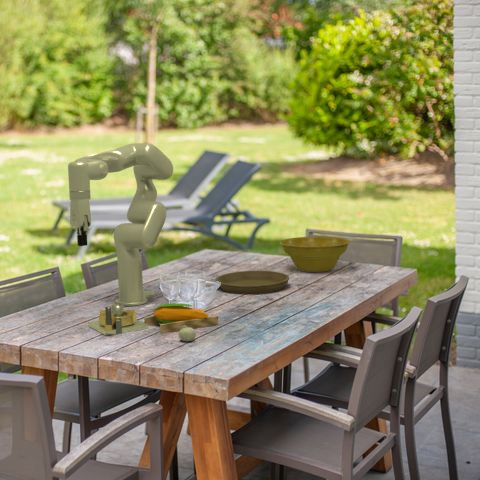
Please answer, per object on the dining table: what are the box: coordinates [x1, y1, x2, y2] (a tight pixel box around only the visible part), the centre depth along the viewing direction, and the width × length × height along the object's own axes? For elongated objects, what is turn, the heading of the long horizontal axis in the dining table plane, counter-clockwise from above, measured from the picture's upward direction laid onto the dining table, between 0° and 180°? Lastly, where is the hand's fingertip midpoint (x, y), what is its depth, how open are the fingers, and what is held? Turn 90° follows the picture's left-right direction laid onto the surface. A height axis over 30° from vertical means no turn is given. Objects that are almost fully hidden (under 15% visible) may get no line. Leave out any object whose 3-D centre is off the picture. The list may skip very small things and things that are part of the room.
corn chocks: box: [143, 308, 219, 335], centre depth 341 cm, size 22×14×3 cm, turn 119°
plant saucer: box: [214, 270, 290, 295], centre depth 404 cm, size 31×31×5 cm
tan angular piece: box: [98, 306, 137, 331], centre depth 337 cm, size 18×12×8 cm
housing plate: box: [87, 303, 149, 336], centre depth 339 cm, size 16×17×8 cm
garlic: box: [178, 325, 197, 343], centre depth 319 cm, size 6×5×5 cm
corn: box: [153, 302, 209, 324], centre depth 341 cm, size 7×8×20 cm
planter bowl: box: [278, 236, 351, 273], centre depth 439 cm, size 32×32×13 cm
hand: (82, 245), depth 353 cm, fingers closed
